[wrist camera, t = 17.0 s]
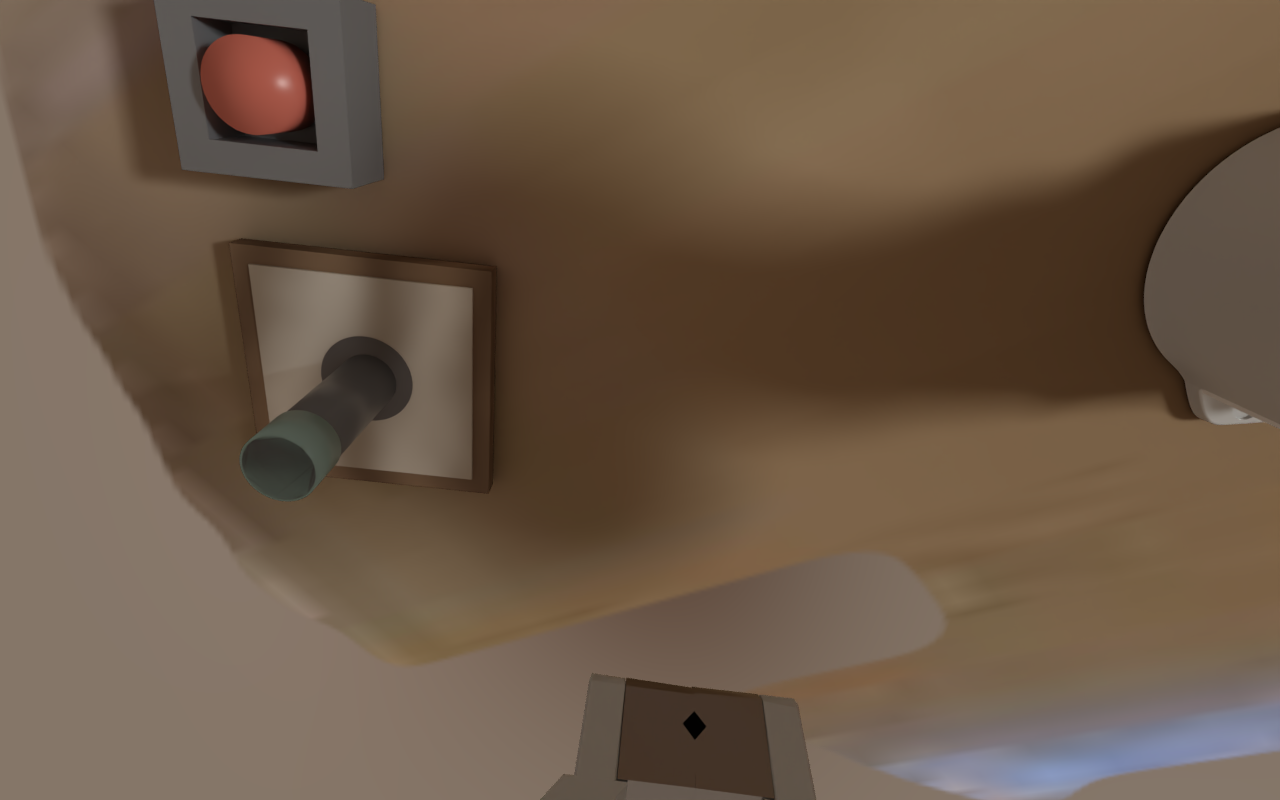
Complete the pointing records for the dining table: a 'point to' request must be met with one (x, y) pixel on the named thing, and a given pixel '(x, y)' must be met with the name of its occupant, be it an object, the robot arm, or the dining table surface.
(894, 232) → the dining table surface
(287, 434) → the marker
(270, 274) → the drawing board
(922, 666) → the dining table surface
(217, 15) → the button housing
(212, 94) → the button
